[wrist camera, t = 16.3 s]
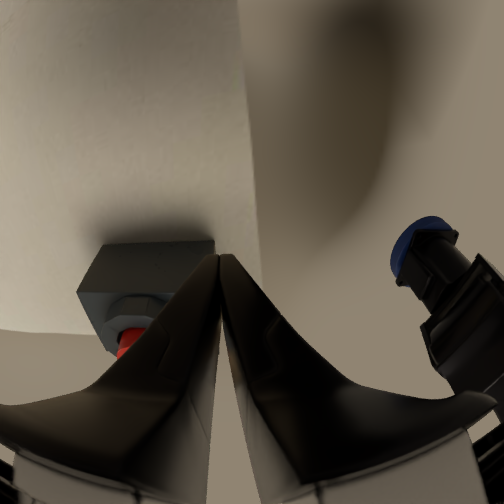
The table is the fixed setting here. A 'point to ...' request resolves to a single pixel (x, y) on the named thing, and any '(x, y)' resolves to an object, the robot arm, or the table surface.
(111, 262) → the control block
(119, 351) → the button
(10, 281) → the table surface
